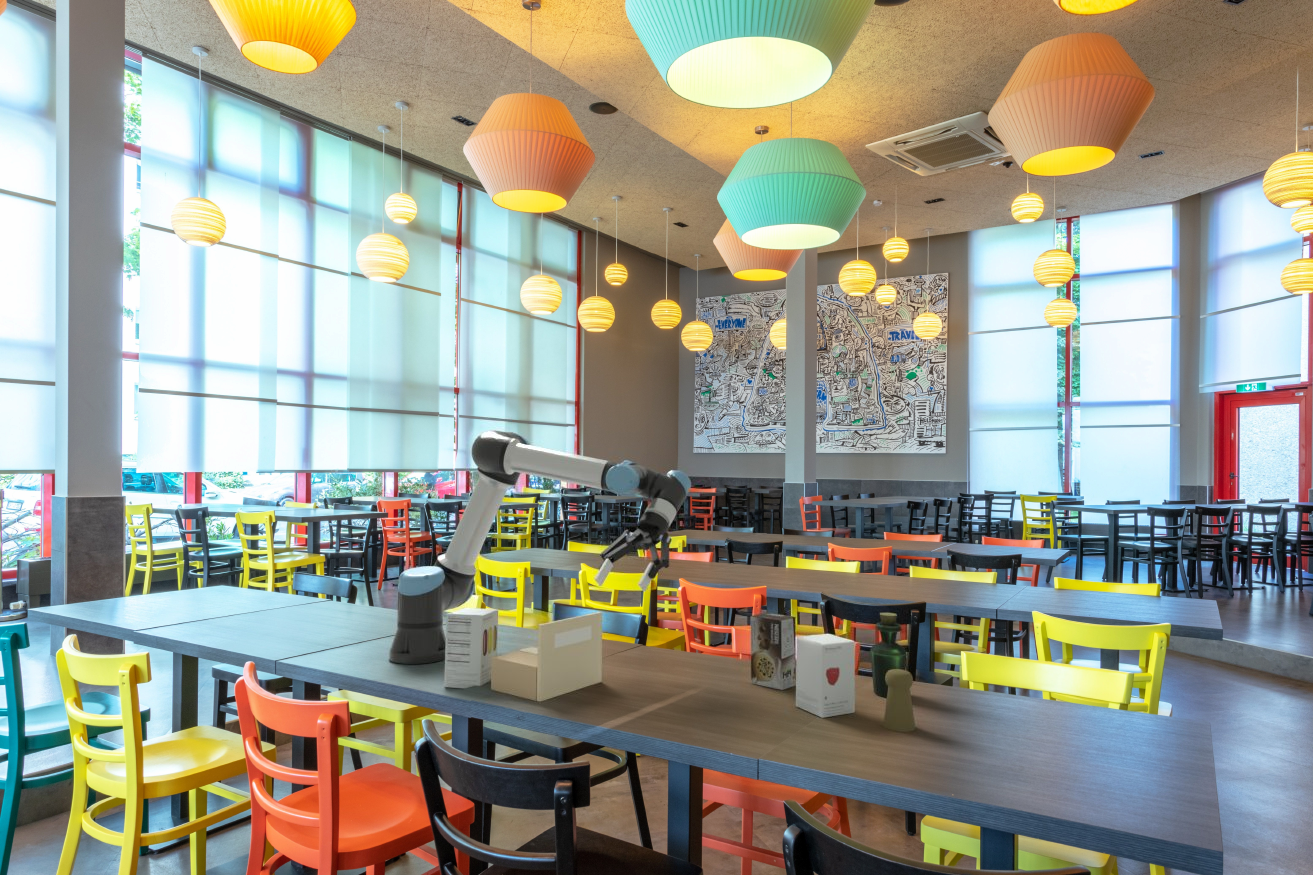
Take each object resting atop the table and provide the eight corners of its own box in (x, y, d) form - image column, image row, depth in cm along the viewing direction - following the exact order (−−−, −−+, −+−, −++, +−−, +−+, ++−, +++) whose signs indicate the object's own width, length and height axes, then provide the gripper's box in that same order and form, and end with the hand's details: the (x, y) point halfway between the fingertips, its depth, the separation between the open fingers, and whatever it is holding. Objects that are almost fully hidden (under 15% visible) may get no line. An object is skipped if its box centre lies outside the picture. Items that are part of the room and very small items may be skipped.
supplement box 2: (822, 718, 154) (822, 644, 155) (794, 706, 162) (794, 635, 163) (856, 712, 159) (856, 640, 159) (828, 701, 166) (827, 632, 167)
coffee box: (797, 685, 179) (797, 616, 180) (781, 690, 174) (781, 619, 175) (765, 678, 185) (765, 611, 186) (749, 683, 181) (749, 614, 182)
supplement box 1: (480, 690, 172) (482, 615, 173) (442, 687, 174) (444, 613, 175) (497, 679, 181) (499, 608, 182) (461, 677, 183) (463, 606, 184)
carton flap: (536, 700, 161) (538, 624, 162) (598, 680, 177) (599, 611, 178) (540, 701, 160) (542, 625, 161) (601, 681, 177) (603, 612, 177)
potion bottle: (873, 687, 178) (873, 609, 179) (909, 691, 175) (909, 612, 176) (866, 695, 171) (866, 615, 172) (904, 700, 167) (904, 618, 168)
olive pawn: (911, 733, 146) (910, 675, 146) (879, 727, 149) (879, 671, 150) (918, 725, 151) (918, 669, 152) (888, 719, 154) (887, 664, 155)
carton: (490, 693, 170) (491, 656, 170) (553, 675, 186) (553, 641, 186) (535, 705, 161) (536, 666, 162) (597, 685, 177) (598, 649, 178)
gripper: (702, 532, 191) (667, 599, 178) (625, 527, 206) (587, 589, 193) (691, 511, 187) (654, 579, 174) (612, 508, 202) (573, 570, 189)
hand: (619, 584), depth 183 cm, fingers open, 13 cm apart
